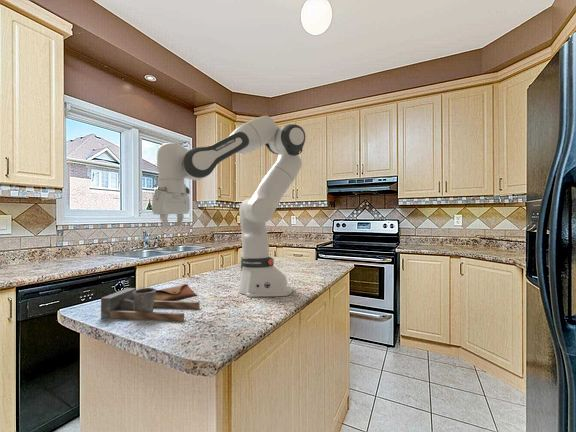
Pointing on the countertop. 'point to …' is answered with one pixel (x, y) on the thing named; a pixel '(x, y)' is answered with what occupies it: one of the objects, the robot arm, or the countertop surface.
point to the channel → (113, 311)
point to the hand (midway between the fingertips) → (172, 227)
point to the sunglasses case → (174, 293)
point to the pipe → (139, 301)
